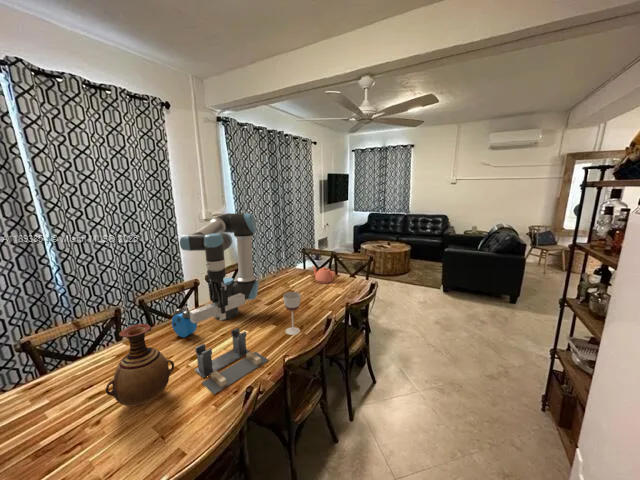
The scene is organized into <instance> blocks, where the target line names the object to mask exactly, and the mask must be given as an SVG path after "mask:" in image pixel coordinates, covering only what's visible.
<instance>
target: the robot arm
mask: <svg viewBox="0 0 640 480" xmlns="http://www.w3.org/2000/svg"><path fill="white" fill-rule="evenodd" d="M229 233H230V234H233V236H234V237H235V239H236V249H237V264H238V265H237V267H238V277H237V278H236V280H235V279H234V278H233V277H227V274H226V273H227V272H226V263H225V262H226V260H225V259H226V258H225V251H226V250H228V249H229V248H230V247H231V245H232V244H233V237H232V236H231V235H230V234H229ZM255 233H257V222H256V218H255V216H254V215H253V214H252V213H249V212H248V213H246V212H244V213H242V212H241V213H228V212H227V213H223V214H220V215H218V216H215V217H214V218H212V219H210V220H209V222H208V224H205V225H204V226H203V227H201V228H199V229H198V230H197V231H195V232H193V233H192V234H189V233H187V234H182V235H181V236H180V238H179V246H180V249H182V251H188V252H191V251H194V252H195V251H196V252H197V251H199V252H200V251H202V252H203V251H204V252H205V260H206V261H205V265H206V269H207V271H206V273H207V279H208V280H207V281H206V283H207V285H208V293H209V300H210V301H209V302H211V303H214V302H217V301H219V306H218V308H219V314H218V315H215V316H213V318H214V319H215V320H218V321H226V320H230V319H234V318H235V317H237V316H238V315H239V313H240V311H239V306H238V307H235V308H233V309H230V310H228V311H225V306H227V305H228V297H231V296H233V295H236V294H239V293H242V294H244V295H245V301H246V300H247V301H249V300H255V299H256V298H257V295H258V292H259V286H260V284H259V281H258V280H257V279H256V277H255V276H254V268H253V249H252V247H253V245H252V243H253V242H252V238H253V237H254V236H255V235H254V234H255Z"/></svg>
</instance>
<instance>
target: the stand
mask: <svg viewBox="0 0 640 480" xmlns="http://www.w3.org/2000/svg"><path fill="white" fill-rule="evenodd" d="M230 334H231V335H230V336H232V346H233V348H232V349H231V350H229V351H226V352H225V353H223V354H221V355H219V356H217V357H215V358H214V359H213V357H212V355H213V349H212V348H208V349H206V344H205V343H202V344H199V345H198V346H196V347H195V348H194V350H195V353H196V359H197V360H196V361H197V367H196V368H195V369H194V372H195V371H196V373H197V375H199V377H201V376H202V377H203V378H204V379H206V378H208V377H210V376H211V373H213V372H215V371H217V372H220V371H221V370H223V368H226V367H227V366H230V365H231V364H232V363H234V362H237V361H238V360H239V359H240V360H241V359H242V358H243V357H245V356H246V353H248V352H250V350H249V349H247V342H246V338H247V332H246V331H243V332H240V327H237V328H234V329H231V330H230ZM209 375H210V376H209ZM207 376H208V377H207ZM202 377H201V378H202ZM205 377H206V378H205ZM203 378H202V379H203Z"/></svg>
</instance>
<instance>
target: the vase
mask: <svg viewBox="0 0 640 480" xmlns="http://www.w3.org/2000/svg"><path fill="white" fill-rule="evenodd" d="M151 331H152V327H151V325H149V324H147V323H146V324H145V323H140V324H133V325H130V326H128V327H126V328H125V329H122V330H121V331H120V332H119V335H118V336H119V337H120V338H127V340H128V342H129V352H128V353H127V354H126V355H124V357H122V358H121V360H120V361H119V363H118V365H117V366H116V369H115V372H114V375H113V377H112V378H111V379H110V380H109V381H108V383H107V384H106V387H105V393H106V394H107V395H108V396H112V397H113V398H114V399H115V401H116V402H117V403H118V404H120V405H123V406H125V407H137V406H141V405H145V404H148V403H149V402H151V401H153V400H155V399H157V398H158V397H159V396H160V395H161V394H163V392H164V391H165V389H166V388H167V386H168V383H169V381H170V376H171V375H172V373H173V371H174V370H175V363H174V361H173V360H171V359H169V358H166V357H165V356H164V354H163V353H162V352H161V351H159V350H158V349H156V348H154V347H147V345H146V339H145V338H146V337H145V335H146V333H148V332H151ZM169 364H170V365H171V368H170V367H169ZM111 385H112V390H110V391H109V388H110V386H111Z"/></svg>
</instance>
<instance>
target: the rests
mask: <svg viewBox="0 0 640 480" xmlns="http://www.w3.org/2000/svg"><path fill="white" fill-rule="evenodd" d="M249 351H250V350H249ZM245 356H246V359H248V360H249V361H251V362H252V363H254V364H255V365H258V364H260V363H261V358H260V357H259V356H257V355H255V354H254V352H252V351H250V352H248V353H246V355H245ZM210 378H211V379H212V380H213V381H214V382H215V383H217V384H218V385H219V386H220V387H221V388H222V387H223V386H225V385H226V384H227V383H226V378H224V377H223V376H222V375H221V374H219V371H215V372H213V373H211V375H210Z"/></svg>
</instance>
